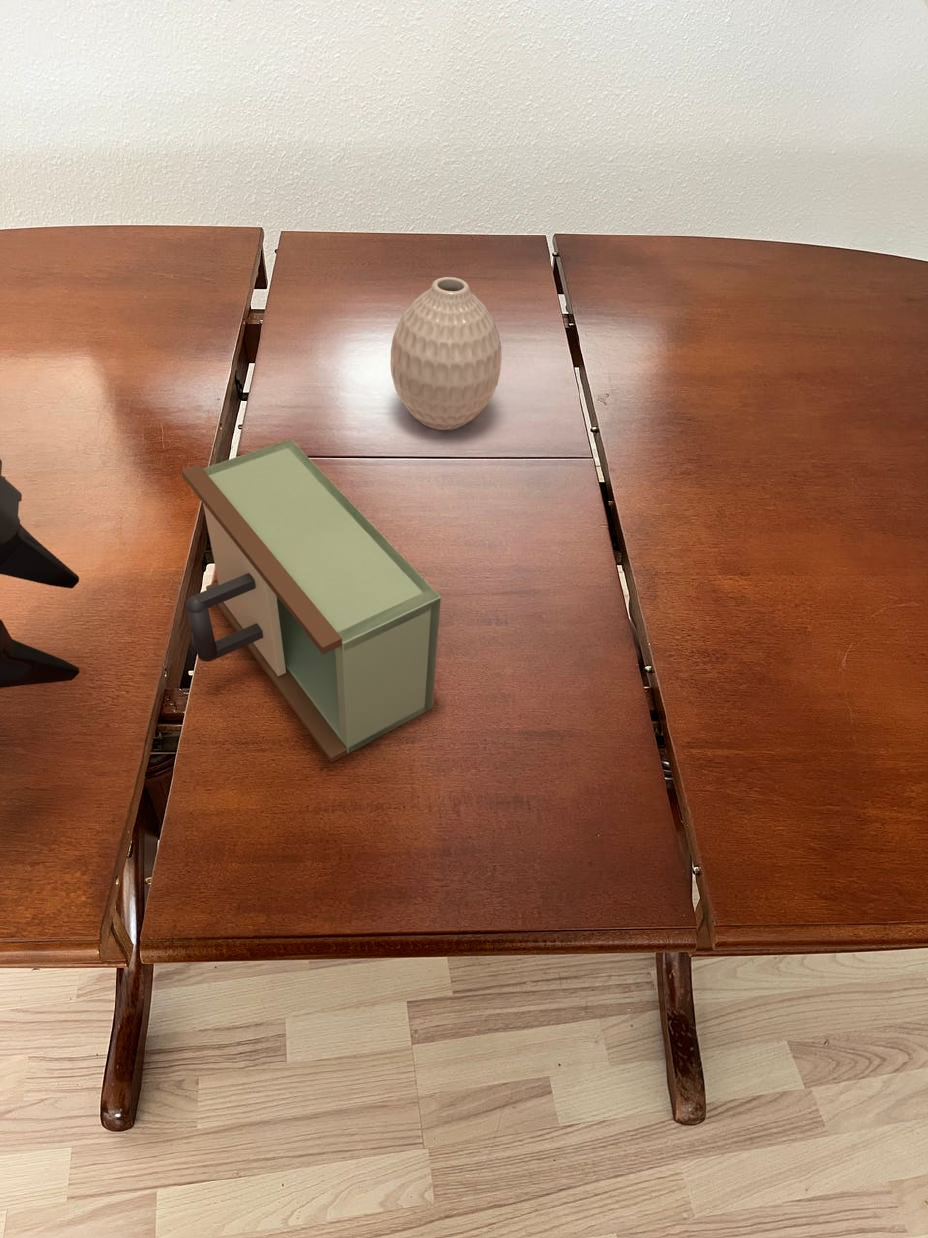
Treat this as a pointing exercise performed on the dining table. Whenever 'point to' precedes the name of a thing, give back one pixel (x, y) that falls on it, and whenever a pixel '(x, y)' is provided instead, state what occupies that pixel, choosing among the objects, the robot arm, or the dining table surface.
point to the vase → (446, 356)
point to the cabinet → (328, 596)
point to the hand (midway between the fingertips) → (76, 626)
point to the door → (236, 605)
